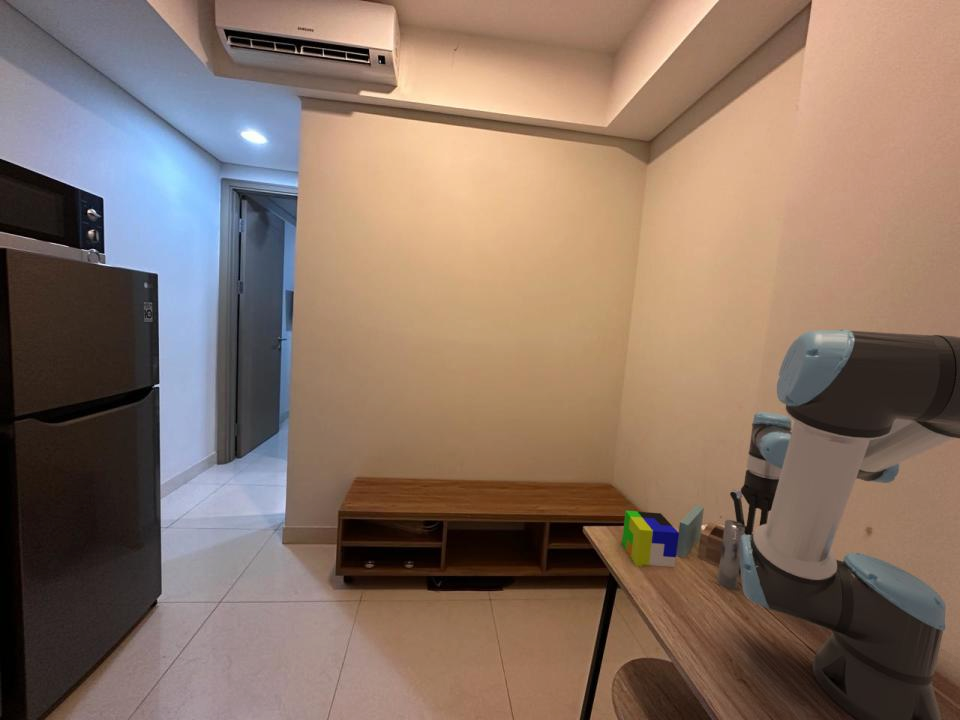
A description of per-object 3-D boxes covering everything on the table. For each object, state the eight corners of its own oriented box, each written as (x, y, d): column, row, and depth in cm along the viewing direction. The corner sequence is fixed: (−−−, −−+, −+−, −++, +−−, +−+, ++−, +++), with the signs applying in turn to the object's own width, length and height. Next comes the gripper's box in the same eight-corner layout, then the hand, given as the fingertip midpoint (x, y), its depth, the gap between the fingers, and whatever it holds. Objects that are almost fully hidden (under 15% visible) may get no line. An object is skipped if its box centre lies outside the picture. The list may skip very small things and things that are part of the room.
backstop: (762, 596, 88) (768, 556, 87) (675, 556, 101) (679, 522, 100) (771, 568, 99) (777, 532, 98) (692, 536, 113) (696, 504, 112)
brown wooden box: (736, 574, 94) (740, 548, 94) (697, 557, 100) (700, 533, 100) (743, 560, 101) (747, 536, 100) (706, 545, 107) (709, 522, 106)
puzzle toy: (674, 569, 96) (678, 532, 95) (635, 566, 96) (640, 529, 95) (656, 546, 106) (660, 513, 105) (621, 543, 106) (625, 510, 105)
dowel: (734, 594, 88) (743, 530, 86) (715, 585, 90) (723, 523, 89) (737, 587, 90) (746, 525, 89) (718, 578, 93) (727, 518, 92)
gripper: (799, 478, 92) (785, 567, 94) (737, 462, 101) (725, 543, 103) (795, 486, 86) (781, 580, 89) (730, 468, 96) (718, 553, 98)
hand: (751, 560), depth 96 cm, fingers closed
